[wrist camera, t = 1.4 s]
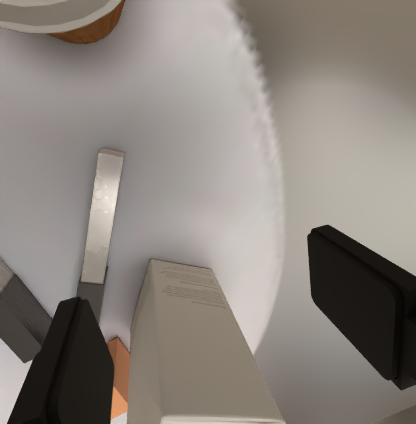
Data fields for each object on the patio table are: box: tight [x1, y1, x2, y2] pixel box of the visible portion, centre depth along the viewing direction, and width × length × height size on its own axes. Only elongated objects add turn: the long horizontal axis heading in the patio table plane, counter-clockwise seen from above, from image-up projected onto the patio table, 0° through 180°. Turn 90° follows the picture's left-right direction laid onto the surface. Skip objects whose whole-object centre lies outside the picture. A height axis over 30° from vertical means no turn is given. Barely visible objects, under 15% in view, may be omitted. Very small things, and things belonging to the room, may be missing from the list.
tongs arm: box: [77, 148, 125, 324], centre depth 23 cm, size 17×2×3 cm, turn 166°
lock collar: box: [108, 338, 130, 419], centre depth 26 cm, size 3×7×5 cm, turn 112°
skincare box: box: [127, 259, 285, 424], centre depth 21 cm, size 8×7×16 cm
